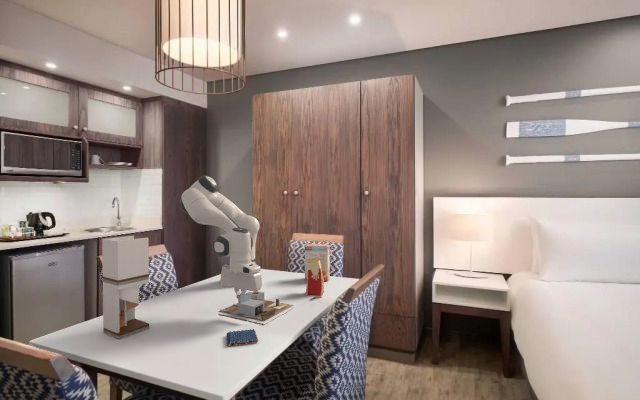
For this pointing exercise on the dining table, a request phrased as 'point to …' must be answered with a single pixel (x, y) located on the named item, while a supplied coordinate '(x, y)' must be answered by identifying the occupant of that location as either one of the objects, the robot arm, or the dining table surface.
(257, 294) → the block
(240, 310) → the cover
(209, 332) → the dining table surface
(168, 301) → the dining table surface
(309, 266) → the milk carton
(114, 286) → the coffee grinder
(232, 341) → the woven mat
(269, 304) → the base
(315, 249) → the cracker box
